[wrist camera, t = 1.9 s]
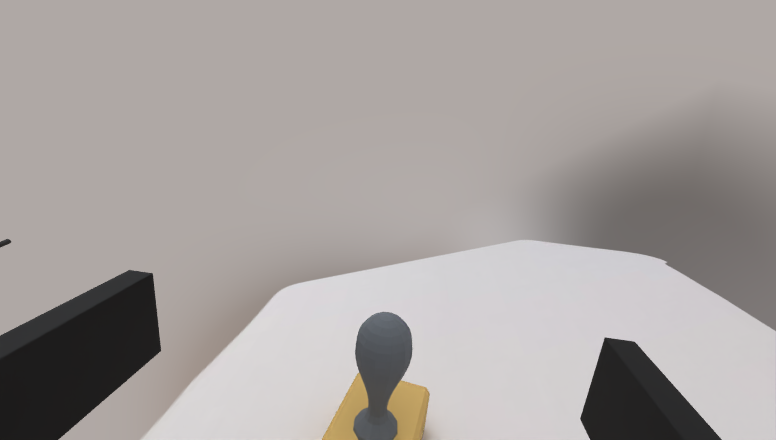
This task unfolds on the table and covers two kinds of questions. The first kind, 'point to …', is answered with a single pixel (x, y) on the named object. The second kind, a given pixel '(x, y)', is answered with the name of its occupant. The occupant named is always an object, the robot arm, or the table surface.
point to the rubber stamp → (381, 387)
